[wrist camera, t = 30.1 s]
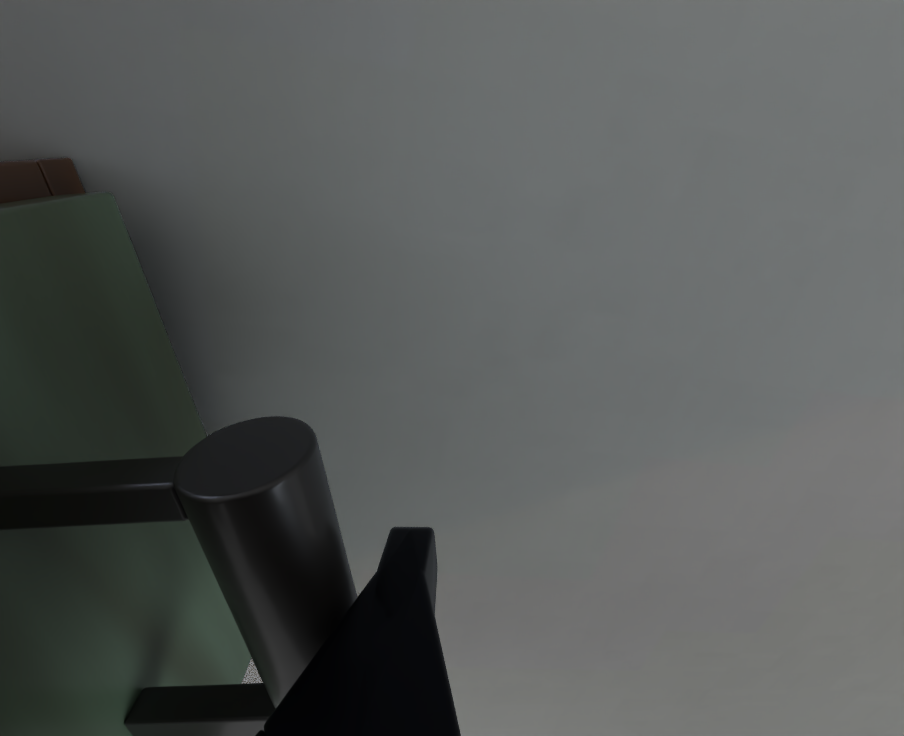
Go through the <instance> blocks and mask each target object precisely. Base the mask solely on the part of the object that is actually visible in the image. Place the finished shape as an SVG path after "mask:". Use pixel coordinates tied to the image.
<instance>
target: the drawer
mask: <svg viewBox="0 0 904 736" xmlns="http://www.w3.org/2000/svg"><path fill="white" fill-rule="evenodd" d="M356 599H357V594H356V590H355V586H354V582H353V578H352V574H351V570H350V566H349V563H348V559H347V555H346V551H345V547H344V543H343V539H342V535H341V531H340V527H339V523H338V519H337V516H336V512H335V508H334V504H333V500H332V496H331V492H330V488H329V484H328V480H327V476H326V472H325V469H324V465H323V461H322V457H321V453H320V449H319V445H318V441H317V437H316V435H315V433H314V431H313V430H312V429H311V427H310V426H308V425H307V424H306V423H304V422H303V421H301V420H298V419H295V418H291V417H283V416H270V417H261V418H255V419H250V420H246V421H243V422H239V423H236V424H233V425H230V426H228V427H226V428H223V429H221V430H219V431H217V432H215V433H213V434H211V435H209V436H207V435H206V433H205V430H204V428H203V425H202V422H201V420H200V417H199V415H198V412H197V410H196V407H195V404H194V402H193V399H192V397H191V394H190V391H189V389H188V386H187V384H186V381H185V379H184V376H183V373H182V371H181V368H180V366H179V363H178V361H177V358H176V355H175V353H174V350H173V348H172V345H171V342H170V340H169V337H168V335H167V332H166V330H165V327H164V324H163V322H162V319H161V317H160V314H159V312H158V309H157V306H156V304H155V301H154V299H153V296H152V294H151V291H150V288H149V286H148V283H147V281H146V278H145V275H144V273H143V270H142V268H141V265H140V263H139V260H138V257H137V255H136V252H135V250H134V247H133V245H132V242H131V239H130V237H129V234H128V232H127V229H126V227H125V224H124V221H123V219H122V216H121V214H120V211H119V208H118V206H117V203H116V201H115V198H114V196H113V194H112V193H110V192H106V191H105V192H93V193H81V194H68V195H56V196H47V197H40V198H34V199H27V200H21V201H14V202H8V203H1V204H0V736H255V735H256V734H257V733H258V732H259V731H260V730H263V731H264V724H265V722H266V721H267V720H268V718H269V717H270V716H271V714H272V713H273V712H274V710H275V709H276V707H277V706H278V705H279V703H280V702H281V701H282V699H283V698H284V697H285V695H286V694H287V693H288V691H289V690H290V688H291V687H292V686H293V684H294V683H295V682H296V680H297V679H298V678H299V676H300V675H301V673H302V672H303V671H304V669H305V668H306V667H307V665H308V664H309V663H310V661H311V660H312V659H313V657H314V656H315V654H316V653H317V652H318V650H319V649H320V648H321V646H322V645H323V644H324V642H325V641H326V640H327V638H328V637H329V635H330V634H331V633H332V631H333V630H334V629H335V627H336V626H337V625H338V623H339V622H340V621H341V619H342V618H343V616H344V615H345V614H346V612H347V611H348V610H349V608H350V607H351V606H352V604H353V603H354V602H355V600H356ZM251 657H252V659H253V661H254V664H255V666H256V668H257V670H258V672H259V675H260V677H261V679H262V681H263V683H251V684H241V683H242V680H243V678H244V675H245V673H246V670H247V668H248V665H249V662H250V660H251Z"/></svg>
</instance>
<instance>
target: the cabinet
mask: <svg viewBox="0 0 904 736" xmlns="http://www.w3.org/2000/svg"><path fill="white" fill-rule="evenodd" d="M81 193H85V191H84V188H83V186H82V183H81V181H80V178H79V176H78V174H77V171H76V169H75V166H74V164H73V162H72V160H71V158H68V157H67V158H50V159H35V160H18V161H2V162H0V204H1V203H8V202H14V201H21V200H27V199H34V198H40V197H47V196H56V195H68V194H81Z"/></svg>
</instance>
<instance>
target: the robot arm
mask: <svg viewBox="0 0 904 736" xmlns="http://www.w3.org/2000/svg"><path fill="white" fill-rule="evenodd" d="M436 586H437V555H436V545H435V535H434V531H433V529H432V528H430V527H393V528H392V529H391V530H390V533H389V535H388V539H387V542H386V545H385V548H384V551H383V554H382V557H381V560H380V563H379V566H378V569H377V572H376V573H375V574H374V576H373V577H372V578H371V580H370V581H369V583H368V584H367V585H366V587H365V588H364V589H363V591H362V592H361V593H360V595H359V596H358V597H357V599H356V600H355V602H354V603H353V604H352V606H351V607H350V608H349V610H348V611H347V612H346V614H345V615H344V616H343V618H342V619H341V621H340V622H339V623H338V625H337V626H336V627H335V629H334V630H333V631H332V633H331V634H330V635H329V637H328V638H327V640H326V641H325V642H324V644H323V645H322V646H321V648H320V649H319V650H318V652H317V653H316V654H315V656H314V657H313V659H312V660H311V661H310V663H309V664H308V665H307V667H306V668H305V669H304V671H303V672H302V673H301V675H300V676H299V678H298V679H297V680H296V682H295V683H294V684H293V686H292V687H291V688H290V690H289V691H288V693H287V694H286V695H285V697H284V698H283V699H282V701H281V702H280V703H279V705H278V706H277V707H276V709H275V710H274V712H273V713H272V714H271V716H270V717H269V718H268V720H267V721H266V722H265V724H264V731H263V730H260V731H259V732H258V733H257V734H256V735H255V736H461V734H460V729H459V725H458V720H457V716H456V711H455V707H454V702H453V697H452V693H451V688H450V684H449V679H448V675H447V670H446V666H445V661H444V656H443V652H442V647H441V643H440V638H439V634H438V629H437V625H436V620H435V601H436Z"/></svg>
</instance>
